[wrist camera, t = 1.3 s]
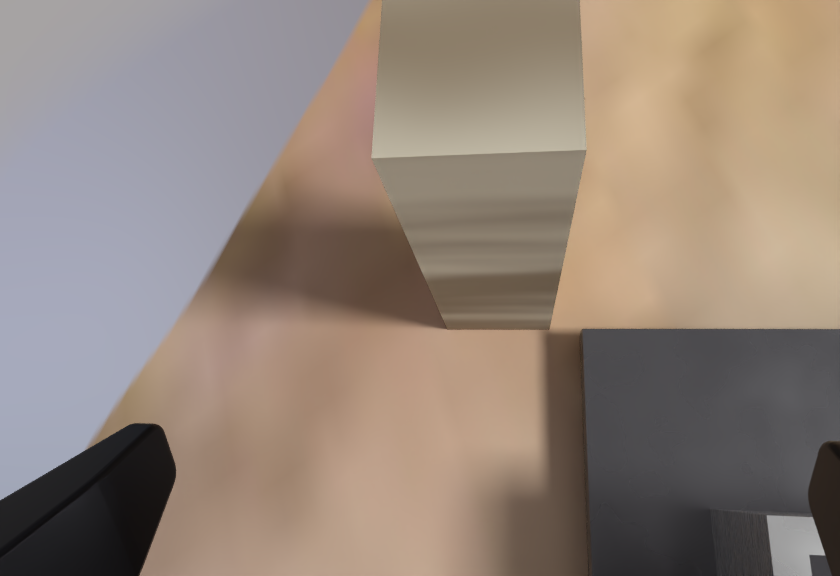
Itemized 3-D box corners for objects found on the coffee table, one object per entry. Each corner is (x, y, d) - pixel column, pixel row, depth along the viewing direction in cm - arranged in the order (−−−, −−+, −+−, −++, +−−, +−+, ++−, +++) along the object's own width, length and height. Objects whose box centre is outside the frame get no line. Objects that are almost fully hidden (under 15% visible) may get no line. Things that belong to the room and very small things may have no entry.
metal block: (549, 329, 22) (586, 150, 10) (447, 329, 23) (371, 158, 11) (547, 234, 23) (578, -28, 11) (449, 236, 24) (382, -13, 12)
